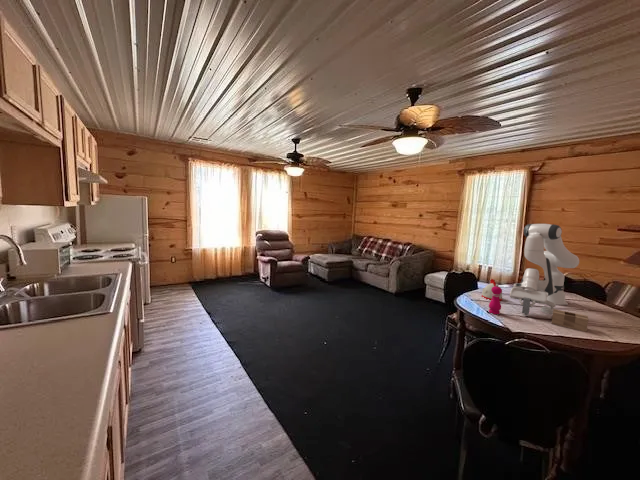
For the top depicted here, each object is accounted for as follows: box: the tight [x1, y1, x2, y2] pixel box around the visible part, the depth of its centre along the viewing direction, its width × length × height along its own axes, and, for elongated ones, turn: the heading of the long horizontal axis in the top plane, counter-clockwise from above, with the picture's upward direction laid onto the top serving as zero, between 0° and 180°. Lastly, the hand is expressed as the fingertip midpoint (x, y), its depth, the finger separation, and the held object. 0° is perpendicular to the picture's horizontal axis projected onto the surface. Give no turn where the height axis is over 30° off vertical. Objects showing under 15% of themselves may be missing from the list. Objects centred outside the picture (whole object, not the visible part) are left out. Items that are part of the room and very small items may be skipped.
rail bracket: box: [521, 297, 531, 315], centre depth 188 cm, size 4×4×10 cm
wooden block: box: [550, 308, 589, 333], centre depth 173 cm, size 8×16×8 cm, turn 49°
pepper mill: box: [488, 283, 503, 315], centre depth 191 cm, size 7×7×20 cm
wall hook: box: [540, 300, 558, 315], centre depth 196 cm, size 9×10×10 cm
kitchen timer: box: [481, 278, 503, 302], centre depth 223 cm, size 14×14×15 cm
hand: (526, 306), depth 187 cm, fingers closed on rail bracket, 3 cm apart
